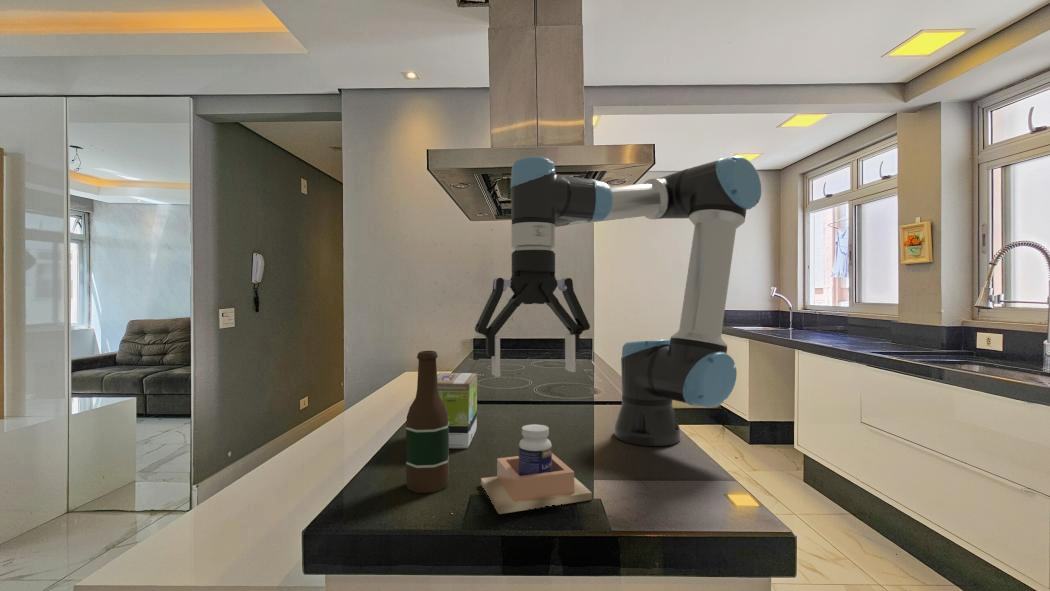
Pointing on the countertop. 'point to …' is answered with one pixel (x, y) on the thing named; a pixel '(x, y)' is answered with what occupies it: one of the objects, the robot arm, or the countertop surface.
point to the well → (534, 480)
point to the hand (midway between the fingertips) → (534, 373)
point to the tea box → (459, 406)
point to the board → (507, 505)
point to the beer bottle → (427, 432)
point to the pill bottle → (535, 450)
